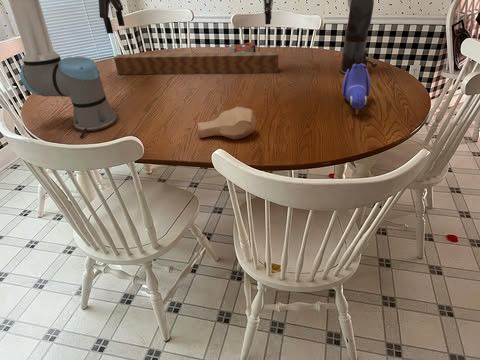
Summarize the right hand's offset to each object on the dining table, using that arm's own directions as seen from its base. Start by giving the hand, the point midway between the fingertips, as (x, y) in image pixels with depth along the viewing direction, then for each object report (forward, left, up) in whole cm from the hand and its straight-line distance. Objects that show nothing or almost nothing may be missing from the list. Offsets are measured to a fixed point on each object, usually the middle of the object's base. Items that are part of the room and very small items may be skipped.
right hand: (268, 21), depth 156 cm
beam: (+32, -14, -22) cm, 41 cm away
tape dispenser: (+5, -25, -22) cm, 33 cm away
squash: (+35, +53, -22) cm, 67 cm away
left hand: (+65, -29, -1) cm, 71 cm away
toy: (-15, +50, -22) cm, 57 cm away
